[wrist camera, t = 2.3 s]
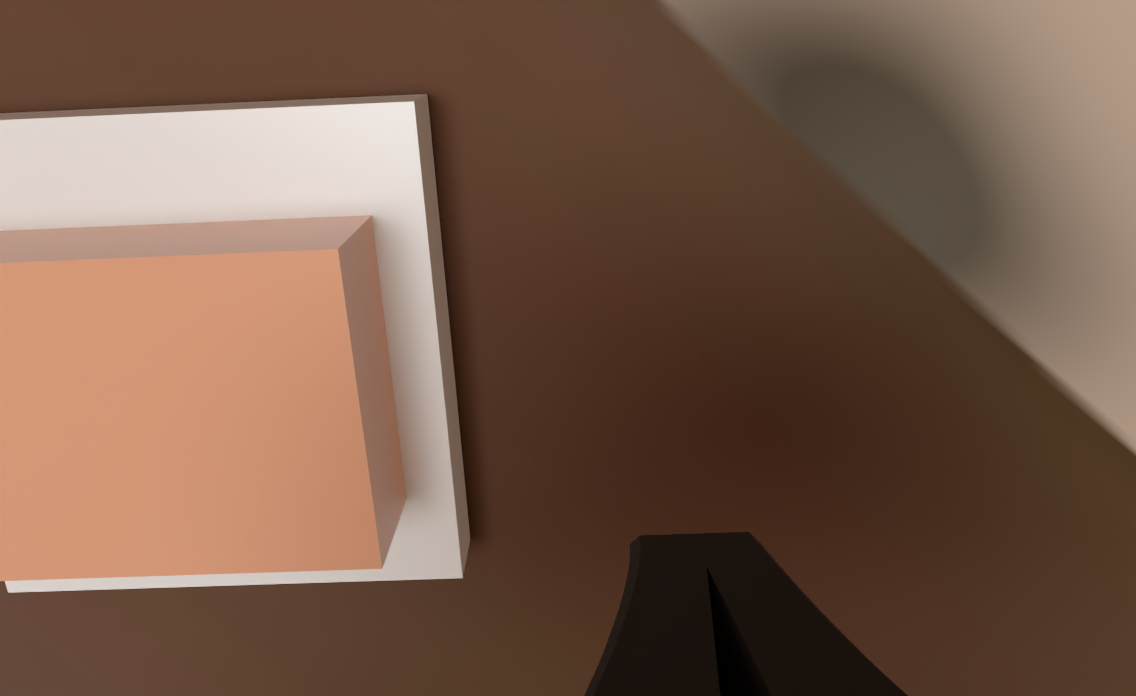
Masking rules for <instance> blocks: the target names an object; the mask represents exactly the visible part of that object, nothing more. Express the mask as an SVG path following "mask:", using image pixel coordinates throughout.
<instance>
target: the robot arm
mask: <svg viewBox="0 0 1136 696" xmlns="http://www.w3.org/2000/svg"><path fill="white" fill-rule="evenodd" d="M585 696H908V695H907V694H905V693H904V692H903V691H902V690H901V689H900V688H899V687H898V686H896V685H895V684H894V683H893V682H892V681H891V680H890V679H889V678H888V677H887V676H885V675H884V674H883V673H882V672H881V671H880V670H879V669H878V668H877V667H876V666H875V665H874V664H873V663H872V662H871V661H870V660H869V659H868V658H867V657H865V656H864V655H863V654H862V653H861V652H860V651H859V650H858V649H857V648H856V647H855V646H854V644H853V643H852V642H851V641H850V640H849V639H848V638H847V637H846V636H845V635H844V634H843V633H842V632H841V631H840V630H839V629H838V628H837V627H836V626H835V625H834V624H833V623H832V622H831V621H830V620H829V619H828V618H827V617H826V616H825V615H824V614H823V613H822V612H821V611H820V610H819V609H818V608H817V607H816V606H815V605H814V604H813V602H812V601H811V600H810V599H809V598H808V597H807V596H806V595H805V594H804V593H803V591H802V590H801V589H800V588H799V587H798V586H797V585H796V584H795V583H794V582H793V580H792V579H791V578H790V577H789V576H788V575H787V574H786V573H785V571H784V570H783V569H782V568H781V567H780V566H779V565H778V563H777V562H776V561H775V560H774V559H773V558H772V556H771V555H770V554H769V553H768V552H767V551H766V549H765V548H764V547H763V546H762V545H761V544H760V543H759V541H758V540H757V539H756V538H755V537H753V536H752V535H751V534H750V533H749V532H735V533H704V534H674V535H643V536H639V537H638V538H637V539H636V540H635V541H633V542H632V543H631V544H630V564H629V571H628V577H627V581H626V586H625V590H624V593H623V597H622V601H621V604H620V608H619V611H618V614H617V617H616V619H615V622H614V625H613V628H612V631H611V633H610V636H609V639H608V642H607V645H606V648H605V650H604V653H603V655H602V658H601V660H600V663H599V665H598V667H597V669H596V671H595V674H594V676H593V678H592V680H591V682H590V685H589V687H588V689H587V691H586V693H585Z"/></svg>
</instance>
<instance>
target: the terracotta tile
mask: <svg viewBox="0 0 1136 696" xmlns="http://www.w3.org/2000/svg"><path fill="white" fill-rule="evenodd" d="M406 500H407V497H406V489H405V481H404V473H403V464H402V456H401V448H400V440H399V432H398V424H397V416H396V408H395V400H394V392H393V383H392V375H391V367H390V359H389V351H388V343H387V335H386V327H385V319H384V311H383V303H382V294H381V286H380V278H379V270H378V262H377V254H376V246H375V238H374V230H373V222H372V215H366V216H342V217H319V218H295V219H271V220H247V221H224V222H200V223H176V224H152V225H128V226H105V227H81V228H57V229H33V230H9V231H0V581H19V580H50V579H81V578H112V577H143V576H174V575H205V574H237V573H268V572H299V571H330V570H361V569H382V568H383V565H384V563H385V560H386V557H387V554H388V551H389V548H390V545H391V542H392V540H393V537H394V534H395V531H396V528H397V525H398V522H399V520H400V517H401V514H402V511H403V508H404V505H405V502H406Z"/></svg>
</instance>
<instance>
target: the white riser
mask: <svg viewBox="0 0 1136 696" xmlns="http://www.w3.org/2000/svg"><path fill="white" fill-rule="evenodd" d="M366 215H372V222H373V230H374V238H375V246H376V254H377V262H378V270H379V278H380V286H381V294H382V303H383V311H384V319H385V327H386V335H387V343H388V351H389V359H390V367H391V375H392V383H393V392H394V400H395V408H396V416H397V424H398V432H399V440H400V448H401V456H402V464H403V473H404V481H405V489H406V497H407V500H406V502H405V505H404V508H403V511H402V514H401V517H400V520H399V522H398V525H397V528H396V531H395V534H394V537H393V540H392V542H391V545H390V548H389V551H388V554H387V557H386V560H385V563H384V565H383V568H382V569H361V570H330V571H299V572H268V573H237V574H205V575H174V576H143V577H112V578H81V579H50V580H19V581H5V583H6V587H7V590H8V593H10V592H42V591H73V590H104V589H136V588H167V587H199V586H230V585H262V584H293V583H325V582H356V581H388V580H419V579H450V578H463V574H464V569H465V564H466V559H467V554H468V549H469V544H470V530H469V520H468V509H467V499H466V489H465V478H464V468H463V458H462V447H461V437H460V427H459V416H458V406H457V395H456V385H455V375H454V364H453V354H452V344H451V333H450V323H449V313H448V302H447V292H446V282H445V271H444V261H443V250H442V240H441V230H440V219H439V209H438V199H437V188H436V178H435V168H434V157H433V147H432V137H431V126H430V116H429V105H428V95H427V94H415V95H393V96H371V97H349V98H327V99H305V100H283V101H261V102H239V103H217V104H195V105H173V106H150V107H128V108H106V109H84V110H62V111H40V112H18V113H0V231H9V230H33V229H57V228H81V227H105V226H128V225H152V224H176V223H200V222H224V221H247V220H271V219H295V218H319V217H342V216H366Z"/></svg>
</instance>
